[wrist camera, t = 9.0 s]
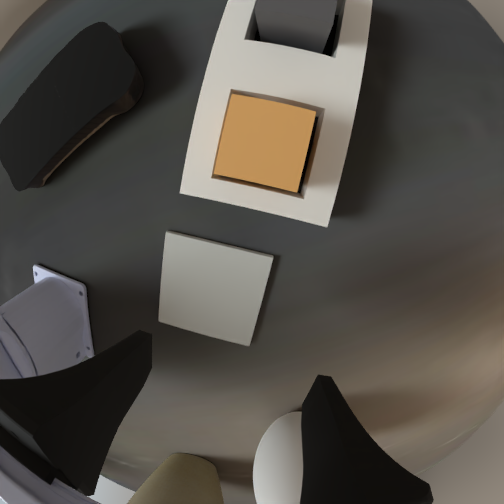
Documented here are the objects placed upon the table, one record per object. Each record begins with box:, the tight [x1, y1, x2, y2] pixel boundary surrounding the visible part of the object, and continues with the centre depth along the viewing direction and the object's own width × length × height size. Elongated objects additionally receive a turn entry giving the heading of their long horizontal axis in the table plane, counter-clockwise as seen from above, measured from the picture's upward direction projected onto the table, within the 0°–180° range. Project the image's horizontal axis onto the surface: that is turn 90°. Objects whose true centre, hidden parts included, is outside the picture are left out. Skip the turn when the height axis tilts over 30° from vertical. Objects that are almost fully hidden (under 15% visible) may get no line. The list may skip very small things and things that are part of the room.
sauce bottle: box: [253, 412, 303, 504], centre depth 17 cm, size 8×8×18 cm
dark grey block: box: [254, 0, 337, 54], centre depth 12 cm, size 4×4×6 cm
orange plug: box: [214, 94, 316, 193], centre depth 15 cm, size 4×4×6 cm
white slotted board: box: [180, 0, 372, 227], centre depth 14 cm, size 23×9×3 cm, turn 168°
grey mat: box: [159, 230, 273, 346], centre depth 21 cm, size 8×8×1 cm
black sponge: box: [0, 22, 144, 191], centre depth 16 cm, size 16×8×4 cm, turn 115°
